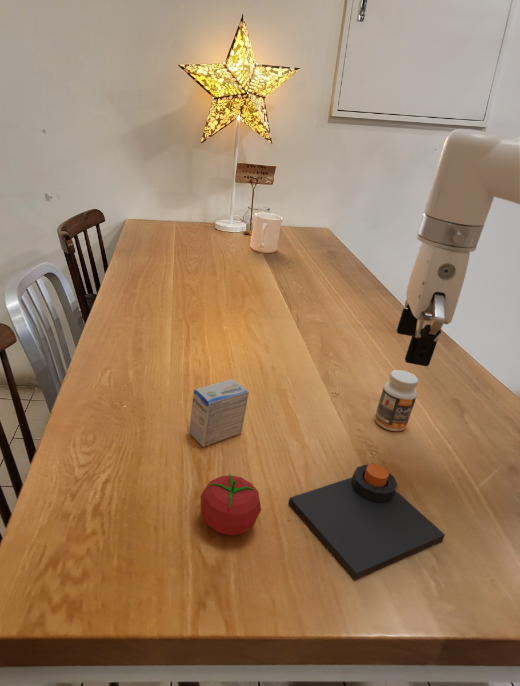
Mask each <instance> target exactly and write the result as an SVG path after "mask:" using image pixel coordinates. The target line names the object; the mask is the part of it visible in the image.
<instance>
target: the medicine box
mask: <svg viewBox="0 0 520 686" xmlns="http://www.w3.org/2000/svg"><path fill="white" fill-rule="evenodd" d="M249 394H250V392H249V390H247V389H246V388H245V387H244V386H243V385H242V384H240V383H239V382H238V381H237V380H235V379H234V378H230V379H227V380H223V381H219V382H216V383H213V384H208V385H206V386H202V387H199V388H195V389H193V394H192V402H191V411H190V420H189V429H188V433H189V435H190V436H192V437H193V439H194V440H195V441H196V442H197V443H198V444H199V445H200V446H201V447H202V448H205V447H207V446H211V445H213V444H216V443H219V442H222V441H224V440H227V439H230V438H232V437H235V436H238V435H241V434H242V433H243V428H244V422H245V421H244V420H245V416H246V410H247V405H248V400H249Z"/></svg>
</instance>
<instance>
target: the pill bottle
mask: <svg viewBox="0 0 520 686" xmlns="http://www.w3.org/2000/svg"><path fill="white" fill-rule="evenodd" d="M388 379H389V380H388V381H386V383H384V385H383V388H382V391H381V394H380V397H379V401H378V404H377V408H376V411H375V415H374V421H375V423H376V424H377V425H378V426H380V427H381V428H383V429H385V430H387V431H390V432H402V431H404V430H405V429H406V428H407V426H408V423H409V420H410V417H411V414H412V412H413V408H414V406H415V403H416V399H417V397H418V392H417V389H416V388H417V387H418V383H419V378H418V377H417V376H416V375H415V374H414V373H412V372H409V371H407V370H403V369H394V370H392V371H391V372H390V374H389V378H388Z"/></svg>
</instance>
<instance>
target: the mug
mask: <svg viewBox="0 0 520 686" xmlns="http://www.w3.org/2000/svg"><path fill="white" fill-rule="evenodd" d="M252 223H253V224H252V231H251V237H250V244H249V245H250V246H249V247H250V249H251V250H253V251H255V252H258V253H262V254H273V253H276V251H277V250H278V245H279V240H280V234H281V227H282V223H283V216H281V215H279V214H276V213H273V212H272V213H271V212H265V211H264V212H263V211H261V212H260V211H259V212H255V213H254V217H253V222H252Z"/></svg>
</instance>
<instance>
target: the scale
mask: <svg viewBox="0 0 520 686" xmlns="http://www.w3.org/2000/svg"><path fill="white" fill-rule="evenodd" d="M368 465H369V464H363V465H359V466H356V468H355V470H354V471H353V474H352V477H349V478H346V479H342V480H340V481H336V482H333V483H331V484H327V485H324V486H321V487H318V488H314V489H312V490H309V491H306V492H303V493H299V494H296V495H293V496H290V497H289V499H288V505H289V506H290V507H291V509H292V510H293V511H294V513H295V514H297V515H298V517H299V518H300V519H301V520H302V521H303V523H304V524H305V525H306V526H307V527H308V528H309V529H310V531H311V532H312V533H313V534H314V535H315V536H316V537H317V539H318V540H319V541H320V542H321V543H322V545H323V546H324V547H325V549H327V551H328V552H329V553H330V554H331V555H332V556H333V557H334V558H335V560H336V561H337V562H338V563H339V564H340V566H342V568H343V569H344V570H345V571H346V572H347V574H348V575H349V576H350V577H351V578H352V579H353V580H354V581H355V580H358V579H360V578H362V577H364V576H367V575H369V574H371V573H374V572H376V571H378V570H380V569H383V568H385V567H387V566H390V565H391V564H394V563H396V562H398V561H401V560H402V559H406V558H407V557H410V556H412V555H414V554H416V553H419V552H421V551H422V550H425V549H428V548H430V547H432V546H434V545H437V544H438V543H439V544H440V543H441V542H443V541H444V539H445V536H446V534H445V533H444V532H443V531H441V529H439V528H438V527H437V526H436V525H435V524H434V523H433V522H431V521H430V520H429V519H428V518H427V517H426V516H425V515H424V514H422V513H421V511H419V510H418V508H416V507H415V506H413V504H411V503H410V502H409V501H408V500H407V499H406V498H404V496H403V495H401V494H400V493H399V492H398V491H397V487H398V483H397V480H396V478H395V476H394V475H393V474H391V473H390V472H389V476H388V479H387V482H386V485H385V486H384V487H374V486H372V485H370V484H368V483H367V482H366V481H365V479H364V475H365V472H366V469H367V466H368Z"/></svg>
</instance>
